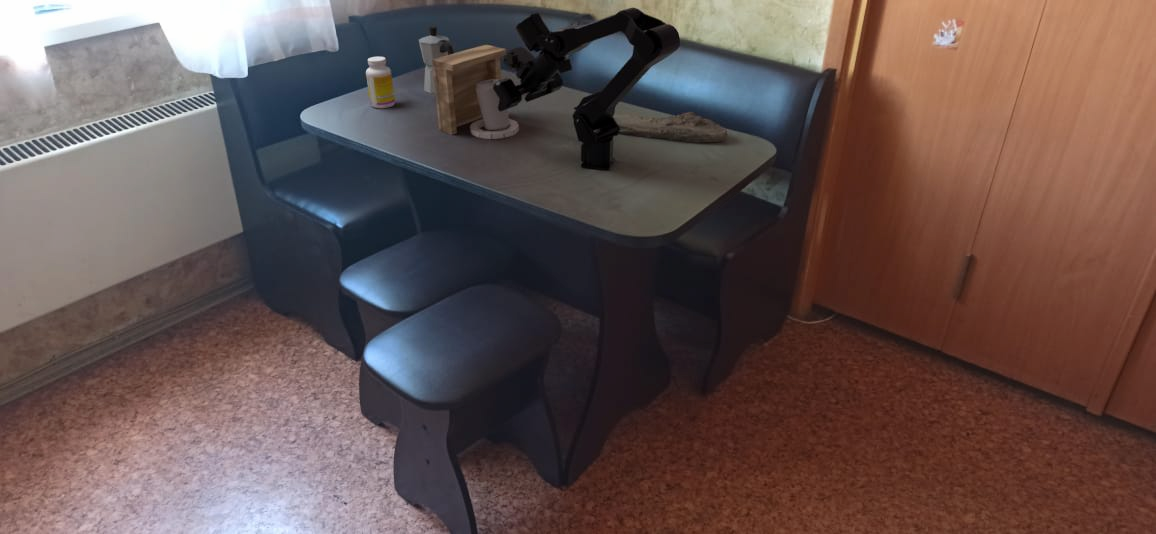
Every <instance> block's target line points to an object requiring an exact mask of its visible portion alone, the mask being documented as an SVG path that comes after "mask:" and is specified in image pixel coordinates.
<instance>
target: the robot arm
mask: <svg viewBox="0 0 1156 534" xmlns="http://www.w3.org/2000/svg"><path fill="white" fill-rule="evenodd" d="M515 31H516V33H517V34H518V36H519V37H520V39H521V41H522V42H523V43H524V45H525V47H526V48H527V49H528V50H527V49H526V48H525V47H522V46H520V47H516V48H512V49H510V50H509V51H506V55H504V56H503V61H502V62H503V64H504V65H505V66H506V67H507V68H509V69H513V70H514V71H516V73H515V76H516V78H517V79H518V80H519V81H520V83H519V84H515V82H514V81H513V79H511V78H509V77H506V78H502V79H501V80H500V81H497V82H496V83H495V84H494V86H493V90H494V91H495V93H496V94H497V96H498V97H499V99H500V100H499V104H498V110H499V111H500V112H501V111H504V110H506V109H507V110H509V109H512V108H514V107H517V106H518V105H519V104H520V103H521V102H522V101H523V98H522V96H524V95H525V97H524V100H525V102H526V103H528V102H531V101H534V100H536V99H539V98H542V97H544V96H547V95H550V94H553V93H554V92H557V91H559V90H561V88H562V87H563V86H564V81H563V80H564V79H563V78H562V76H561V75H560V74H564V73H567V72H570V71H572V68H573V67H572V64H571V59H570V58H568V57H567V56H570V55H573V54H575V53H578V52H580V51H582V50H584V49H586V48H587V47H588V46H589V45H590V44H592V43H593V42H594V41H595V42H596V41H597V40H600V39H602V38H606V37H609V36H612V35H615V34H617V33H618V34H619V33H620V32H621V33H622V34H624V36H625V37H626V39H627V41H628V43H629V44H630V45H631V46H632V47H633V48H632V53H631V54H632V55H631V56H630V58H629V59H628V60H627V61H626V62H625V64H624V65H623V66H622V67H621V68H620V69H619V71H618V72H617V73H616V74H615V75H614V76H613V77H612V78H611V80H610V81H609V82H608V83H607V84H606V85H605V87H604V88H603V89H602V90H601V91H597V92H595V93H592V94H589V95H587V96H584V97H582V98H581V100H580V102H579V103H578V105H576V106H575V107H573V110H574V111H573V114H572V120H573V121H572V122H573V126H574V129H575V133H576V137H577V139H578V142H580V143H581V145H580V161H581V162H582V163H581V164H580V167H581V168H583V169H585V168H586V169H593V170H594V169H596V170H602V171H608V170H609V171H610V169H611V167H612V165H613V163H614V162H615V160H616V157H614V137H615V136H616V137H617V136H618V135H619V134H620V133H619V130H620V127H619V126H618V124H617V122H616V121H615V119H614V118H613V115H614V114H616V107H617V105H619V103H620V102H621V101H622V100H623V99H624V97H625V96H626V95H627V94H628V93H629V92H630V91H631V90H632V89H633V88H634V87H635V86H636V84H637V83H638V82H639V81H640V80H641V79H642V78H643V77H644V76H645V74H647V72H648V71H649V70H650V69H651V68H652V67H654V66H655V65H657V64H658V63H660V62H662V61H663V60H665V59H667V58H668V57H670V56H671V55H673V53H675V52H676V51H677V50H678V49H679V48H680V46H681V42H680V41H681V40H680V34H679V32H678V29H677V28H676V27H675V26H674V25H672V24H668V23H666V22H664V21H663V20H661V19H659V18H656V17H655V16H652V15H649V14H646V13H644V12H643V11H641V10H640V9H639V8H636V7H629V8H626V9H622V10H619V11H617V13H613V14H611V15H609V16H606V17H604V18H601V19H598V20H596V21H593V22H589V23H586V24H575V25H573V24H572V25H570V26H566V27H565V26H564V27H562V28H559V29H555V30H551V31H550V29H549V28H548V26H547V25H546V23H545V22H544V20H543V18H542V16H541V14H539V12H535V13H531V14H530V16H528V17H526V18H525V19H523V20H522V21H521V22H520V23H519V22H518V24H517V25H516V26H515ZM533 51H534V52H535V53H538V54H537V55H536V57H535V56H534V55H533V54H532V53H530V52H533ZM559 73H560V74H559ZM599 128H600V129H599Z"/></svg>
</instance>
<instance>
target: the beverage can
mask: <svg viewBox="0 0 1156 534" xmlns="http://www.w3.org/2000/svg"><path fill="white" fill-rule="evenodd" d="M497 81H498V79H490V80H485V81H481V82H479V83H477V84H476V86H477V87H476V93H477V97H478V101H479V105H480V109H481V113H482V117H483V118H482V119H483V122H484V128H485V130H486V131H492V132H493V131H502V130H505V129H508V128H509V127H508V125H509V124H510V121H509V119H510V118H509V113H508V109H506V110H504V111H501V112H500V111H499V110H498V104H499V100H500V99H499V97H498V96H497V94H496V93H495V91H494V90H493V86H494V84H495V83H496V82H497Z"/></svg>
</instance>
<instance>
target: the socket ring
mask: <svg viewBox="0 0 1156 534" xmlns="http://www.w3.org/2000/svg"><path fill="white" fill-rule="evenodd" d="M509 121H510V124H509V125H508V127H507V128H505V129H503V130H499V131H488V130H484V129H482V128H483V127H484V128H485V126H484V122H483V118H480V119H477V120H475V121H473V122H472V123H471V124H470V125H469V128H470V129H469V131H470V133H471V135H472V136H474V137H476V138H480V139H487V140H491V139H492V140H498V139H504V138H505V139H506V138H508V137H512V136H514V135H516V134H517V133H518V132H519V130H520V125H519V123H518V121H517V120H514V119H511V118H509Z"/></svg>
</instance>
